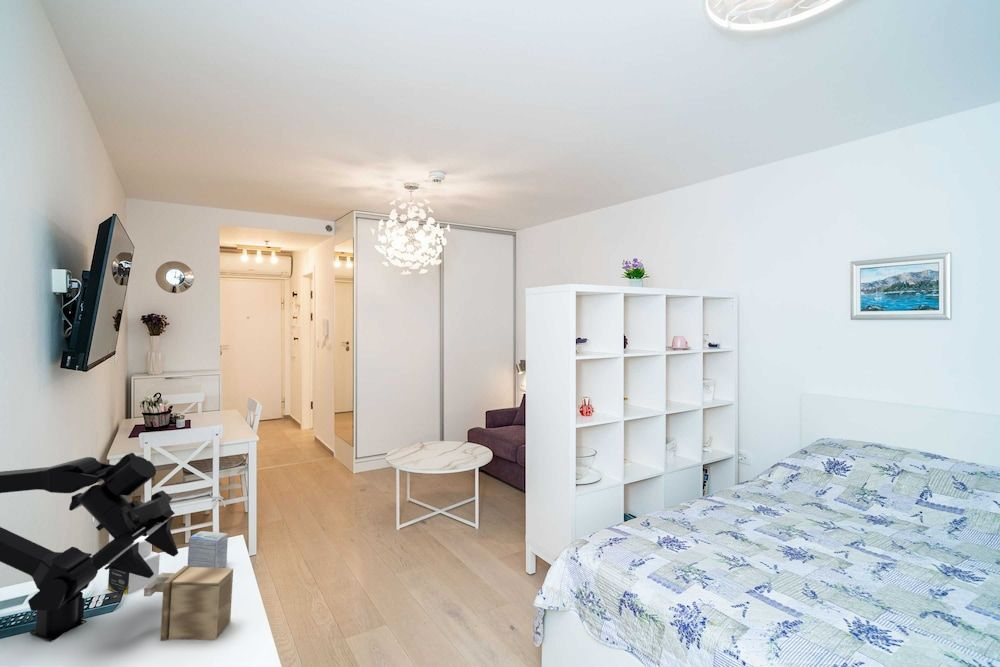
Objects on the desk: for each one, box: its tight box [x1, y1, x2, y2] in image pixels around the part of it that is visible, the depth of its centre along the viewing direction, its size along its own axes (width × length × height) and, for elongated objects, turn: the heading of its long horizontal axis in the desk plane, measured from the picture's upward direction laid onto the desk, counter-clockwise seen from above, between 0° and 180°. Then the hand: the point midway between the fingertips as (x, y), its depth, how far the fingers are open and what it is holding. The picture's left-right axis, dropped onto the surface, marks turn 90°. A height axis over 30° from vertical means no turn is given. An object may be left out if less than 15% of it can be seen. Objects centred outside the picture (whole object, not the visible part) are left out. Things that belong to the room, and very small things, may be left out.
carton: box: [168, 567, 234, 641], centre depth 99 cm, size 9×6×12 cm, turn 93°
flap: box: [143, 565, 190, 641], centre depth 99 cm, size 5×7×11 cm
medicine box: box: [187, 530, 229, 568], centre depth 125 cm, size 8×4×9 cm, turn 84°
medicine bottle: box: [107, 535, 161, 595], centre depth 115 cm, size 7×7×12 cm
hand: (164, 565), depth 101 cm, fingers open, 9 cm apart
